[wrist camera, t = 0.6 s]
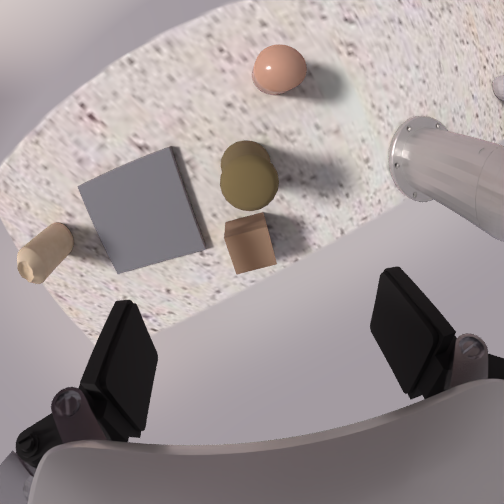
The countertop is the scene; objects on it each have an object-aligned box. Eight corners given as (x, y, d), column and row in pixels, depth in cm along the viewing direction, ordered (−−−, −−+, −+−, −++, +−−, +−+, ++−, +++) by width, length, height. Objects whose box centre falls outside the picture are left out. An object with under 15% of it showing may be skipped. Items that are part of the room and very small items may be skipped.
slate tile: (170, 146, 31) (168, 147, 30) (206, 246, 37) (205, 249, 36) (81, 184, 32) (77, 186, 31) (120, 270, 38) (117, 273, 37)
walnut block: (263, 211, 36) (267, 226, 31) (271, 245, 38) (276, 264, 33) (225, 222, 36) (224, 238, 31) (236, 254, 38) (236, 274, 34)
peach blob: (288, 53, 26) (299, 41, 21) (299, 90, 28) (312, 85, 23) (247, 61, 27) (249, 49, 21) (258, 99, 29) (262, 95, 24)
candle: (69, 220, 34) (32, 252, 25) (77, 254, 37) (45, 291, 28) (43, 223, 34) (6, 253, 25) (52, 254, 36) (19, 289, 27)
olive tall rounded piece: (277, 178, 34) (295, 206, 24) (231, 195, 34) (230, 230, 24) (260, 133, 31) (272, 140, 21) (213, 151, 31) (202, 167, 22)
